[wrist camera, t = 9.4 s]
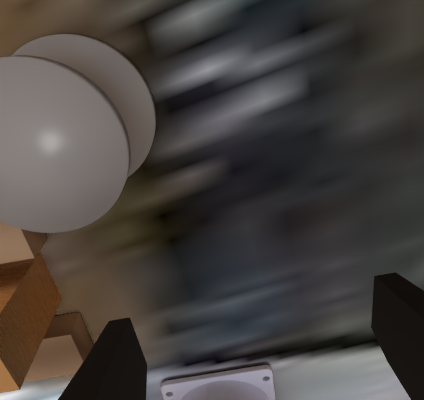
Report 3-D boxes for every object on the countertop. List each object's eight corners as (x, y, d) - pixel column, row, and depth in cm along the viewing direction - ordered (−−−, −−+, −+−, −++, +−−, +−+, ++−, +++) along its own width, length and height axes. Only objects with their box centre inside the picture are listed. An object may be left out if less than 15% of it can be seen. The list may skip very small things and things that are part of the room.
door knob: (169, 170, 18) (163, 227, 13) (37, 193, 18) (-21, 258, 13) (136, 21, 15) (109, 18, 10) (-24, 48, 15) (-132, 60, 10)
